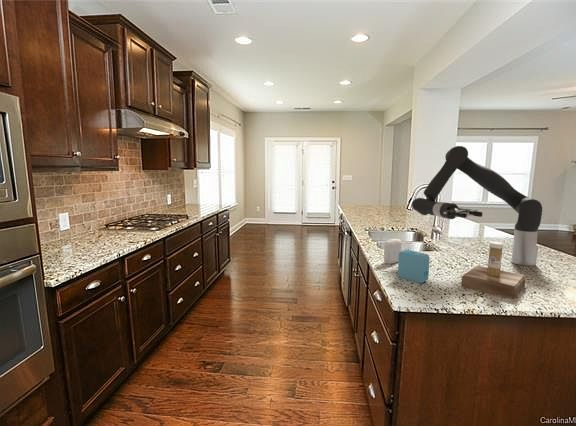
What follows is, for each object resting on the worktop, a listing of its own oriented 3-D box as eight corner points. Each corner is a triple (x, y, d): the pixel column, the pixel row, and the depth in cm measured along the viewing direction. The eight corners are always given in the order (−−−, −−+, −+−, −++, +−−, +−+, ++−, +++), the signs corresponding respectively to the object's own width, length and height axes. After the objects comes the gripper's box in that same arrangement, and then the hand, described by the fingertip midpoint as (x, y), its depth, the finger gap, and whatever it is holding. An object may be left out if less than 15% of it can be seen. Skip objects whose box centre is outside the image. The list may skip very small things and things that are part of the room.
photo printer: (395, 259, 165) (396, 236, 163) (402, 261, 161) (403, 238, 160) (382, 262, 159) (383, 239, 157) (389, 264, 156) (390, 241, 154)
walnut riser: (475, 275, 139) (476, 265, 138) (524, 286, 126) (525, 275, 125) (461, 286, 127) (462, 274, 126) (514, 299, 114) (515, 286, 113)
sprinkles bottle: (486, 275, 125) (488, 242, 123) (487, 272, 129) (490, 240, 127) (499, 277, 122) (502, 244, 120) (501, 274, 126) (504, 242, 124)
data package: (428, 281, 132) (430, 254, 131) (423, 284, 130) (424, 256, 128) (402, 274, 142) (403, 249, 140) (397, 276, 139) (398, 250, 137)
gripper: (433, 203, 146) (461, 207, 131) (457, 202, 150) (487, 205, 135) (432, 218, 147) (460, 224, 132) (456, 217, 151) (486, 222, 136)
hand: (474, 214), depth 133 cm, fingers open, 8 cm apart
